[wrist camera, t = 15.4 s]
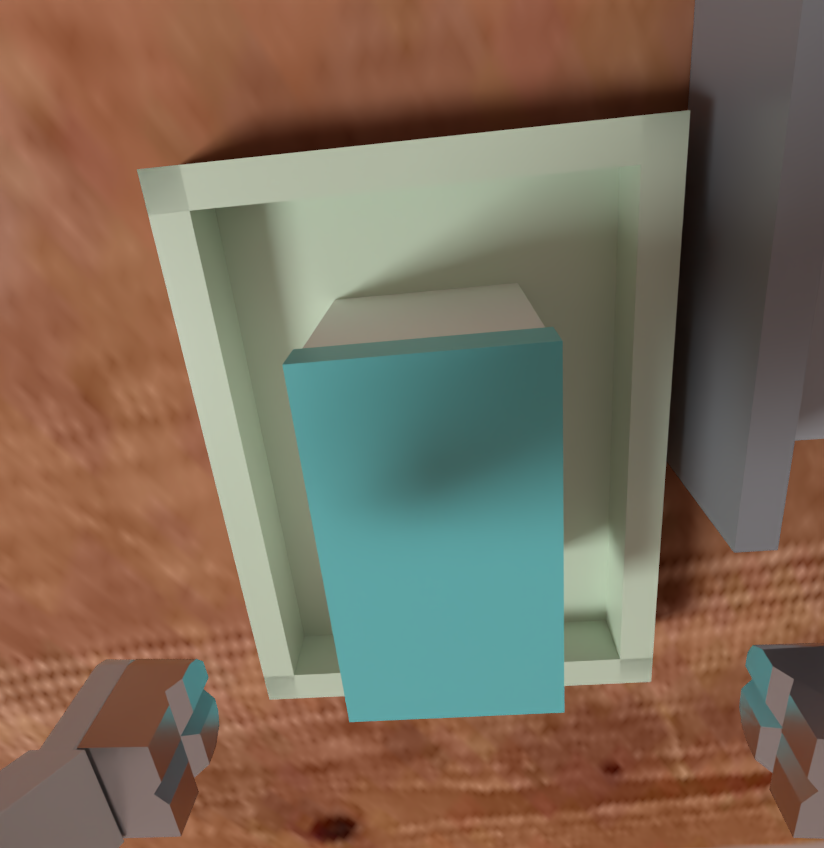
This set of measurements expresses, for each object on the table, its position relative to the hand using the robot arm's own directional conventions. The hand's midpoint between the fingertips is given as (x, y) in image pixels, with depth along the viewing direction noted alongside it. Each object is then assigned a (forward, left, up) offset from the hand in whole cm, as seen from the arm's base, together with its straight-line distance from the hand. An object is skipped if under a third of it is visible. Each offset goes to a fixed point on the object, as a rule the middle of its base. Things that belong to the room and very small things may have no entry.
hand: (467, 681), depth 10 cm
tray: (+1, +1, -11) cm, 11 cm away
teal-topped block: (0, +1, -10) cm, 10 cm away
